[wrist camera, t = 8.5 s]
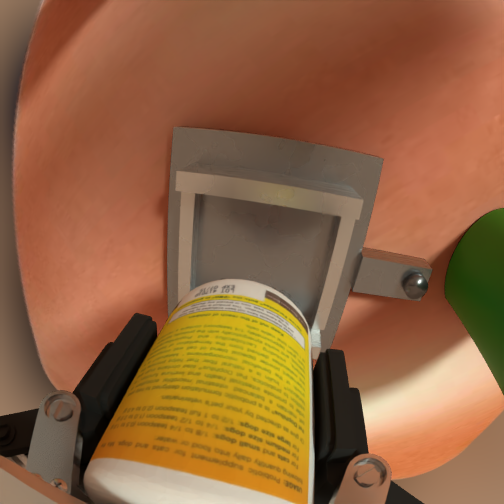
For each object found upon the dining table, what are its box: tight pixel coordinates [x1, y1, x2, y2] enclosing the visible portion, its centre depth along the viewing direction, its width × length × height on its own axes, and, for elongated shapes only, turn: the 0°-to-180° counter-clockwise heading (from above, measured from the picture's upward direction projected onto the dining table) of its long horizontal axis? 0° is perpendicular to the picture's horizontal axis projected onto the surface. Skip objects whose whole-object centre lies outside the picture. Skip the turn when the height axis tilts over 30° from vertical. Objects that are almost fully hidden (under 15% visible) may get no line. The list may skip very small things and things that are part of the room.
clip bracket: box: [167, 127, 433, 359], centre depth 18 cm, size 14×17×4 cm
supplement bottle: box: [83, 279, 315, 504], centre depth 7 cm, size 6×6×10 cm
